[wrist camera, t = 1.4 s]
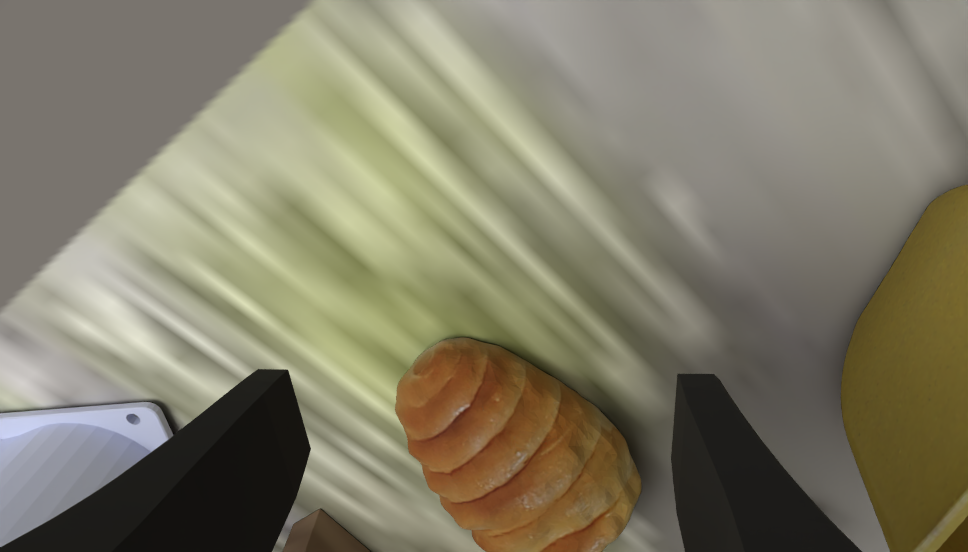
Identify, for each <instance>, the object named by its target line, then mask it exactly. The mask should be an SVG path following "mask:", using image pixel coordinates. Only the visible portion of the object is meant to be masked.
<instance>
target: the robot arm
mask: <svg viewBox="0 0 968 552" xmlns="http://www.w3.org/2000/svg"><path fill="white" fill-rule="evenodd" d="M133 414H135V415H137V416H138V417H139V418H138V417H136V416H134V415H133ZM310 450H311V448H310V444H309V441H308V437H307V434H306V430H305V427H304V424H303V420H302V417H301V413H300V410H299V406H298V403H297V399H296V396H295V392H294V389H293V385H292V382H291V378H290V375H289V371H288V370H272V369H258V370H257V371H255V372H254V373H252V374H251V375H250V376H248V377H247V378H245V379H244V380H243V381H242V382H240V383H239V384H238V385H236V386H235V387H234V388H233V389H231V390H230V391H229V392H228V393H226V394H225V395H224V396H223V397H221V398H220V399H219V400H218V401H216V402H215V403H214V404H213V405H211V406H210V407H209V408H208V409H206V410H205V411H204V412H203V413H201V414H200V415H199V416H198V417H196V418H195V419H194V420H193V421H191V422H190V423H189V424H187V425H186V426H185V427H184V428H182V429H181V430H180V431H179V432H177V433H176V434H175V435H173V433H172V431H171V429H170V427H169V425H168V422H167V420H166V418H165V416H164V414H163V412H162V410H161V409H160V407H158V406H157V405H156V404H154V403H151V402H138V403H125V404H113V405H100V406H87V407H75V408H62V409H50V410H37V411H24V412H12V413H0V552H272V550H273V548H274V546H275V543H276V541H277V539H278V537H279V535H280V532H281V530H282V528H283V526H284V524H285V521H286V519H287V517H288V515H289V512H290V510H291V508H292V506H293V503H294V501H295V499H296V496H297V493H298V490H299V487H300V484H301V481H302V477H303V474H304V471H305V467H306V464H307V460H308V457H309V453H310ZM671 462H672V472H673V482H674V492H675V501H676V510H677V516H678V521H679V526H680V530H681V535H682V539H683V544H684V548H685V552H862V551H861V550H860V549H859V548H858V547H857V546H856V545H855V544H854V543H853V542H852V541H851V540H850V539H849V538H847V537H846V536H845V535H844V534H843V533H842V532H841V531H840V530H839V529H838V528H837V527H836V526H835V524H834V523H833V522H832V521H831V520H830V519H829V518H828V517H827V516H826V515H825V514H824V513H823V512H822V511H821V510H820V509H819V508H818V507H817V505H816V504H815V503H814V502H813V501H812V500H811V499H810V498H809V497H808V495H807V494H806V493H805V492H804V491H803V490H802V489H801V488H800V487H799V485H798V484H797V483H796V482H795V481H794V480H793V478H792V477H791V476H790V475H789V474H788V472H787V471H786V470H785V469H784V468H783V466H782V465H781V464H780V463H779V461H778V460H777V459H776V458H775V456H774V455H773V454H772V453H771V451H770V450H769V449H768V448H767V446H766V445H765V444H764V443H763V441H762V440H761V439H760V437H759V436H758V435H757V433H756V432H755V431H754V429H753V428H752V427H751V425H750V424H749V423H748V421H747V420H746V418H745V417H744V416H743V414H742V413H741V411H740V410H739V408H738V407H737V406H736V404H735V403H734V401H733V400H732V398H731V397H730V395H729V394H728V392H727V391H726V389H725V387H724V386H723V384H722V383H721V381H720V380H719V379H718V378H717V377H716V376H715V375H714V374H678V375H677V388H676V402H675V415H674V428H673V441H672V455H671Z"/></svg>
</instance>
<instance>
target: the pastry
mask: <svg viewBox="0 0 968 552" xmlns="http://www.w3.org/2000/svg"><path fill="white" fill-rule="evenodd" d="M395 411H396V414H397V416H398V418H399V420H400V422H401V424H402V425H403V427H404V430H405V432H406V435H407V438H408V449H409V453H410V454H411V455H412V456H414V457H415V458H416V459H417V460H418V461H419V462H420V463H421V464H422V469H423V473H424V476H425V479H426V481H427V484H428V487H429V488H430V489H431V490H432V491H433V492H435V493H437V494H439V495H440V501H441V504H442V506H443V507H444V509H445V510H446V511H447V512H448V513H450V515H451V516H452V517H453V518H454V520H455V521H456V522H457V524H458V525H459V526H460V527H461V528H463V529H467V530H472V536H473V539H474V540H475V542H476V543H477V544H478V545H479V546H480V547H481V548H482V549H483V550H485V551H486V552H602V551H603V550H604V548H605V547H606V546H607V545H608V544H609V543H611V542H613V541H615V540H616V538H617V537H618V536H619V535H620V534H621V533H622V531H623V530H624V528H625V527H626V525H627V523H628V521H629V520H630V517H631V514H632V511H633V508H634V506H635V504H636V502H637V499H638V497H639V495H640V493H641V478H640V475H639V473H638V471H637V468H636V466H635V464H634V461H633V459H632V457H631V455H630V453H629V449H628V446H627V443H626V440H625V439H624V437H623V436H622V435H621V433H620V432H619V431H618V430H617V428H616V427H615V426H614V425H613V424H612V423H611V422H610V421H609V420H608V419H607V418H606V417H605V416H604V414H603V413H602V412H601V411H600V410H599V408H597V407H596V406H595V405H593V404H592V403H590V402H588V401H587V400H585V399H584V398H582V397H581V396H580V395H579V394H578V393H577V392H575V391H574V390H571V389H570V388H568V387H567V386H566V385H564V384H563V383H562V382H560V381H559V380H557V379H556V378H554V377H552V376H550V375H548V374H546V373H545V372H543V371H541V370H540V369H538V368H536V367H535V366H533V365H532V364H530V363H529V362H527V361H525V360H524V359H522V358H520V357H518V356H517V355H515V354H513V353H511V352H509V351H507V350H506V349H504V348H502V347H500V346H498V345H493V344H488V343H483V342H480V341H476V340H473V339H470V338H465V337H460V338H453V339H445V340H443V341H440V342H439V343H437V344H435V345H434V346H433V347H431V348H429V349H427V350H426V351H424V352H423V353H422V354H421V355H420V356H419V357H418V358H417V359H416V360H415V362H414V363H413V365H412V366H411V367H410V369H409V370H408V371H407V372H406V374H405V375H404V376H403V377H402V379H401V380H400V381H399V384H398V387H397V396H396V405H395Z"/></svg>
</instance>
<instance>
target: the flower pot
mask: <svg viewBox="0 0 968 552" xmlns="http://www.w3.org/2000/svg"><path fill="white" fill-rule="evenodd" d="M841 408H842V416H843V422H844V427H845V431H846V435H847V438H848V441H849V444H850V447H851V450H852V453H853V455H854V458H855V460H856V463H857V466H858V469H859V471H860V474H861V476H862V479H863V482H864V484H865V487H866V490H867V492H868V495H869V497H870V500H871V503H872V505H873V508H874V510H875V513H876V516H877V518H878V521H879V523H880V526H881V528H882V531H883V534H884V536H885V539H886V542H887V544H888V547H889V549H890V552H968V185H963V186H960V187H957V188H954V189H952V190H950V191H948V192H946V193H944V194H943V195H941V196H939V197H937V198H936V199H935V200H934V201H933V202H932V203H931V204H930V205H929V206H928V207H927V209H926V210H925V212H924V214H923V215H922V217H921V219H920V220H919V222H918V223H917V225H916V227H915V228H914V230H913V232H912V233H911V235H910V236H909V238H908V240H907V241H906V243H905V245H904V247H903V249H902V250H901V252H900V254H899V255H898V257H897V259H896V260H895V262H894V263H893V265H892V267H891V268H890V270H889V272H888V273H887V275H886V276H885V278H884V279H883V281H882V283H881V284H880V286H879V287H878V289H877V291H876V292H875V294H874V296H873V297H872V299H871V300H870V302H869V303H868V305H867V306H866V308H865V309H864V311H863V313H862V314H861V316H860V317H859V319H858V321H857V323H856V326H855V329H854V332H853V335H852V337H851V340H850V344H849V347H848V350H847V353H846V357H845V362H844V367H843V373H842V381H841Z"/></svg>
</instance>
